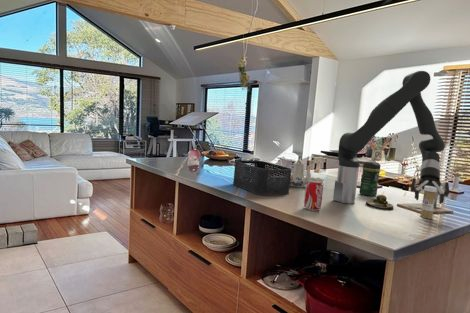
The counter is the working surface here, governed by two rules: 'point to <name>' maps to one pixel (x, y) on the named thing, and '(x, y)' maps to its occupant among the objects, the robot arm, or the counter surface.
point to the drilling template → (418, 206)
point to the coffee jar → (370, 178)
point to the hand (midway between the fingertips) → (428, 201)
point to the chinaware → (301, 175)
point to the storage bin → (262, 177)
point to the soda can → (313, 195)
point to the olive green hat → (380, 202)
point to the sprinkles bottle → (428, 202)
